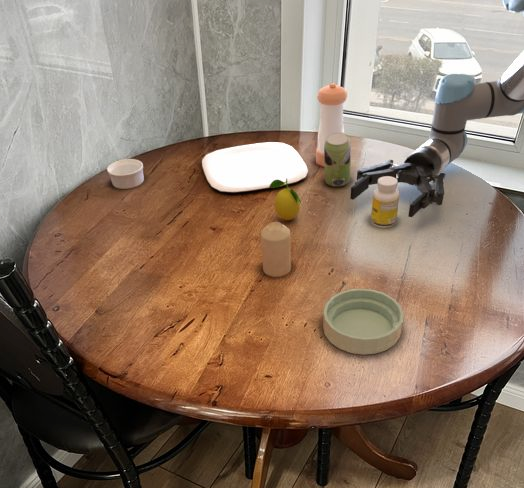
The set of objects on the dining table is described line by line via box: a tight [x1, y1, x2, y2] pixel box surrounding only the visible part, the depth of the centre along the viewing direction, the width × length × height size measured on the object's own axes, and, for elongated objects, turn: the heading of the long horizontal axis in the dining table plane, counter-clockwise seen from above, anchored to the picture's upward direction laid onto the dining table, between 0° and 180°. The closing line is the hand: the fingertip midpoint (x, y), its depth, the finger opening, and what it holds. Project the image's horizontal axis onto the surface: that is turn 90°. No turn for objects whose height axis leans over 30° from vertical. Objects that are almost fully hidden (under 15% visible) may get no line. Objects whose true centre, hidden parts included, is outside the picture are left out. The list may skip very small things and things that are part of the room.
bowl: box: [322, 288, 405, 355], centre depth 91 cm, size 13×13×4 cm
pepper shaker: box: [315, 82, 348, 168], centre depth 133 cm, size 7×7×19 cm
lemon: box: [268, 178, 302, 221], centre depth 116 cm, size 7×6×10 cm
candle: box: [260, 221, 292, 278], centre depth 103 cm, size 6×6×10 cm
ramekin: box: [106, 158, 145, 190], centre depth 135 cm, size 9×9×4 cm
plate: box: [201, 141, 309, 194], centre depth 138 cm, size 25×25×2 cm
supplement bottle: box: [370, 176, 401, 229], centre depth 114 cm, size 5×5×10 cm
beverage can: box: [324, 132, 352, 188], centre depth 126 cm, size 6×7×12 cm
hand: (380, 202), depth 112 cm, fingers open, 13 cm apart
